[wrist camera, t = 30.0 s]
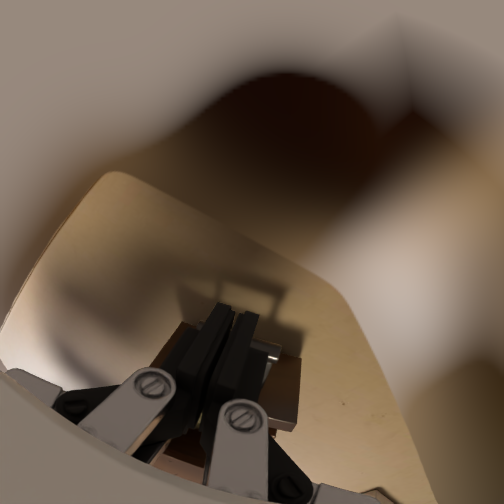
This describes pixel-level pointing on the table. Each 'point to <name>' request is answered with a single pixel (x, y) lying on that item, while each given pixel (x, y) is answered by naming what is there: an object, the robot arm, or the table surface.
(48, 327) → the table surface
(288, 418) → the drawer
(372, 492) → the box
